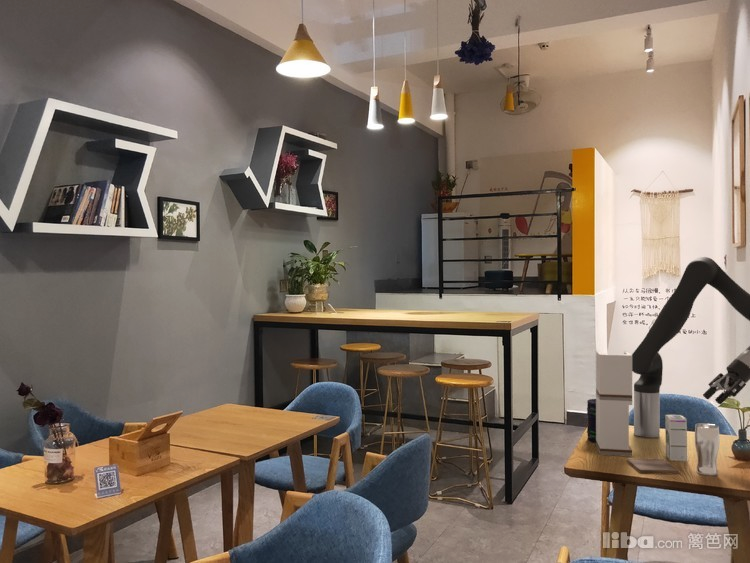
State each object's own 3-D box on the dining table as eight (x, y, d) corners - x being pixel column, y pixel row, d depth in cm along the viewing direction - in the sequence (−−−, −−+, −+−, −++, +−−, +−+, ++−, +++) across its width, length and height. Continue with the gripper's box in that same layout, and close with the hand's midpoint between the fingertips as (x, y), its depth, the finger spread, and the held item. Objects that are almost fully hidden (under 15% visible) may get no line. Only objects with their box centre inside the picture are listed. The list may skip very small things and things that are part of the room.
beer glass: (711, 469, 200) (711, 422, 200) (724, 476, 193) (724, 428, 193) (690, 469, 200) (690, 423, 199) (702, 476, 193) (702, 428, 193)
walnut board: (626, 461, 208) (626, 458, 208) (663, 461, 208) (663, 459, 208) (640, 473, 196) (640, 469, 196) (678, 473, 196) (678, 470, 196)
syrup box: (687, 461, 208) (688, 418, 208) (669, 460, 209) (669, 417, 209) (683, 456, 214) (683, 414, 213) (664, 455, 215) (664, 414, 215)
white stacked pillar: (632, 456, 214) (632, 355, 214) (599, 454, 217) (599, 354, 217) (626, 447, 226) (626, 351, 225) (596, 445, 228) (595, 350, 228)
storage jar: (619, 440, 234) (619, 401, 234) (606, 445, 228) (606, 405, 227) (595, 435, 242) (594, 397, 241) (582, 440, 235) (582, 401, 235)
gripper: (726, 355, 217) (693, 388, 218) (748, 361, 203) (713, 396, 204) (742, 370, 217) (709, 403, 218) (765, 377, 203) (730, 412, 203)
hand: (711, 399), depth 211 cm, fingers open, 8 cm apart
